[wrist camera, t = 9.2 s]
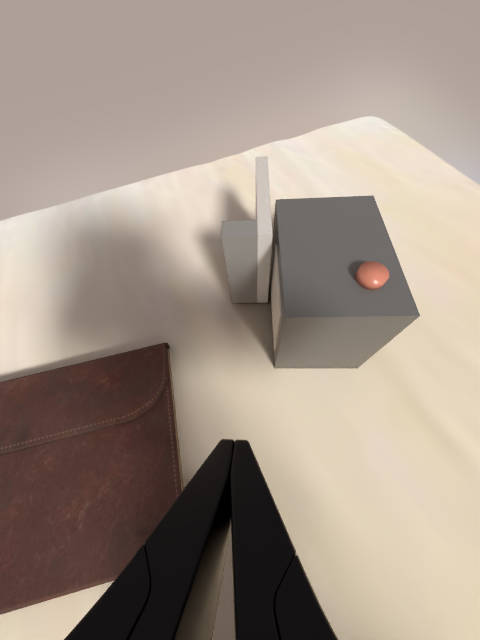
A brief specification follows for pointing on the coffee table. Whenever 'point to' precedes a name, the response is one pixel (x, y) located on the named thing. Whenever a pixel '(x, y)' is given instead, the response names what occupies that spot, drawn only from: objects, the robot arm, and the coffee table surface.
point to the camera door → (250, 246)
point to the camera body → (334, 283)
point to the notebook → (83, 472)
